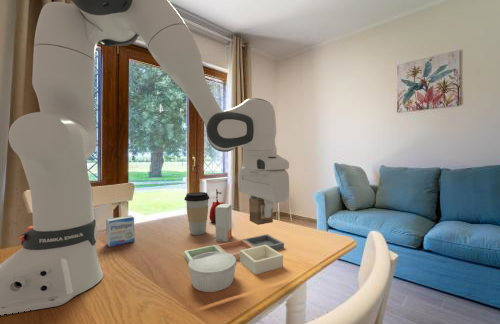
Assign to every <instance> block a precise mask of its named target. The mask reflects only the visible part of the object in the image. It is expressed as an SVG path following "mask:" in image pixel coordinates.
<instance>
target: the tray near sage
mask: <svg viewBox="0 0 500 324" xmlns="http://www.w3.org/2000/svg"><path fill="white" fill-rule="evenodd" d="M208 252H223V251H222V250H221V249H219V248H218V247H217V246H216V244H212V245H206V246H202V247H198V248H197V247H196V248H194V249H193V248H192V249H187V250H184V251H183V256H184V259H185V260H186V262H187V263H189V261H190V260H191V259H192V258H193V257H195V256H197V255H199V254H203V253H208Z"/></svg>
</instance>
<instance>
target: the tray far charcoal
mask: <svg viewBox="0 0 500 324" xmlns="http://www.w3.org/2000/svg"><path fill="white" fill-rule="evenodd" d="M242 239H243V240H245V241H246V242H248V243H249V244H251V245H252V246H254V247H257V246H262V245H267V246H269V247H270V248H272V249H274V250H275V251H277V250H282V249H284V248H285V242H283V241H281V240H279V239H277V238H275V237H273V236H271V235H270V234H262V235H257V236H252V237H247V238H242Z"/></svg>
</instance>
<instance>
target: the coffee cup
mask: <svg viewBox="0 0 500 324" xmlns="http://www.w3.org/2000/svg"><path fill="white" fill-rule="evenodd" d="M209 200H210V195H208V192H204V191H203V192H202V191H197V192H196V191H195V192H188V193H186V194H185V196H184V200H183V201H184V202H185V201H186V212H187V221H188V226H189V233H190V234H191V235H192V236H199V235H200V236H202V235H203V234H206V233H207V222H208V221H207V220H208V213H209V212H208V211H209Z"/></svg>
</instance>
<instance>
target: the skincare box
mask: <svg viewBox="0 0 500 324" xmlns="http://www.w3.org/2000/svg"><path fill="white" fill-rule="evenodd" d="M232 208H233V207H232V203H231V204H230V203H229V204H228V203H224V204H220V205H218V206H217V207H216V208H215V217H216V223H215V241H216V242H229V240H230V238H231V237H232V236H233V235H232V234H233V232H232V231H233V230H232V227H233V225H232V223H233V220H232V218H233V217H232V216H233V215H232V213H233V212H232Z"/></svg>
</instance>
